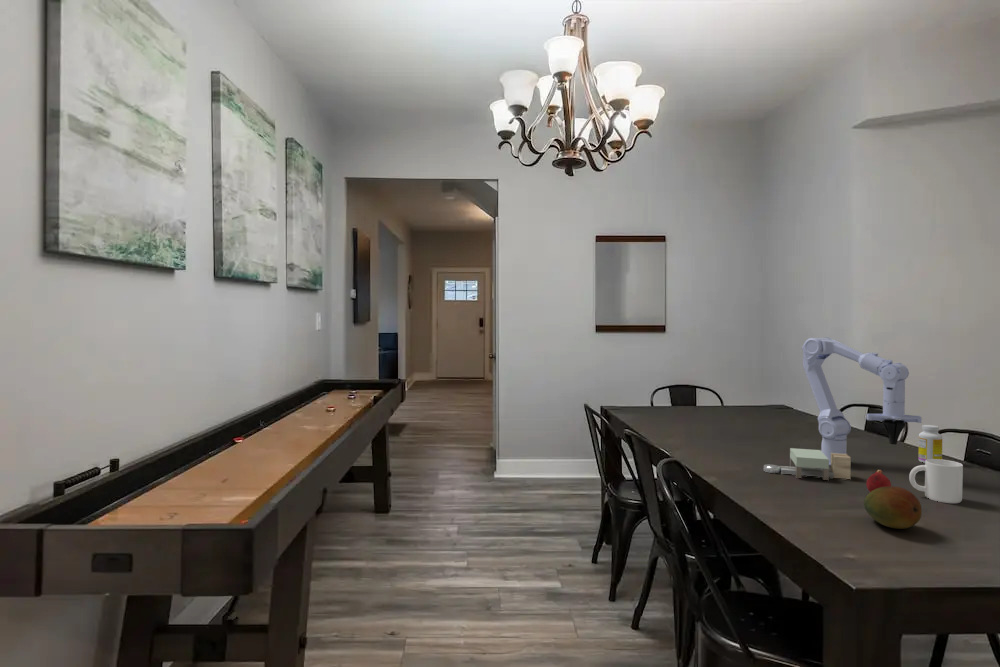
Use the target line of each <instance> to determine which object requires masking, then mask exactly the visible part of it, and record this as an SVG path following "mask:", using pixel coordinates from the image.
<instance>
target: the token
mask: <svg viewBox="0 0 1000 667" xmlns="http://www.w3.org/2000/svg"><path fill="white" fill-rule="evenodd" d="M780 466H781V465H777V464H768V463H767V464H763V472H764V471H765V472H764V473H766V472H768V473H767V474H770V473H779V474H781V473H780V469H781V467H780Z"/></svg>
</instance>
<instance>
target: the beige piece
mask: <svg viewBox="0 0 1000 667" xmlns="http://www.w3.org/2000/svg"><path fill="white" fill-rule="evenodd" d="M851 460H852V459H851V456H850V455H848V453H846V454H839V453H831V465H830V468H829V477H830V478H829V479H833V478H846V479H850V480H851V470H852V469H851ZM779 466H780V467H781V469H780V472H781V473H780V474H781V475H782V474H792V475H791V476H795V475H796V466H795V467H790V465H789V466H788V465H787V466H786V465H779ZM801 475H807V476H818V477H817V478H820V477H823V469H822V468H821V469H816V468H808V467H802V469H801ZM807 476H806V477H807ZM846 479H845V480H846Z"/></svg>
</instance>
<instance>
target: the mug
mask: <svg viewBox="0 0 1000 667" xmlns="http://www.w3.org/2000/svg"><path fill="white" fill-rule="evenodd" d="M963 468H964V465H963V463H960V462H957V461H954V460H948V459H942V460H941V459H927V460H926V461H925V463H924V464H921V465H917V466H914V467H913V468H912V469H911V470H910V472H909V474H908V475H909V476H908V477H909V478H908V479H909V482H910V485H911V486H912V487H913V488H914V489H916V490H917V491H919V492H924V495H925V498H927V499H928V498H929V499H928V500H931V501H934V502H937V501H938V503H943V504H959V503H961V502H962V501H963V484H964V483H963V481H964V480H963V479H964V478H963V476H964V472H963V471H964V470H963ZM923 471H924V485H920V484H918V483H917V482H916V475H917V473H918V472H923Z"/></svg>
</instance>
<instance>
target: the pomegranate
mask: <svg viewBox="0 0 1000 667" xmlns="http://www.w3.org/2000/svg"><path fill="white" fill-rule="evenodd" d="M865 484H866V489H867V490H868V492H869V493H870V492H871V491H873V490H875V489H877V488H880V487H887V486H892V483H891V481H890V479H889V478H888V477H887V475H886V474H884V473H883V471H882V469H877V471H875V472H874V473H872V474H871V475H870V476H868V477H867V480H866V483H865Z"/></svg>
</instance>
